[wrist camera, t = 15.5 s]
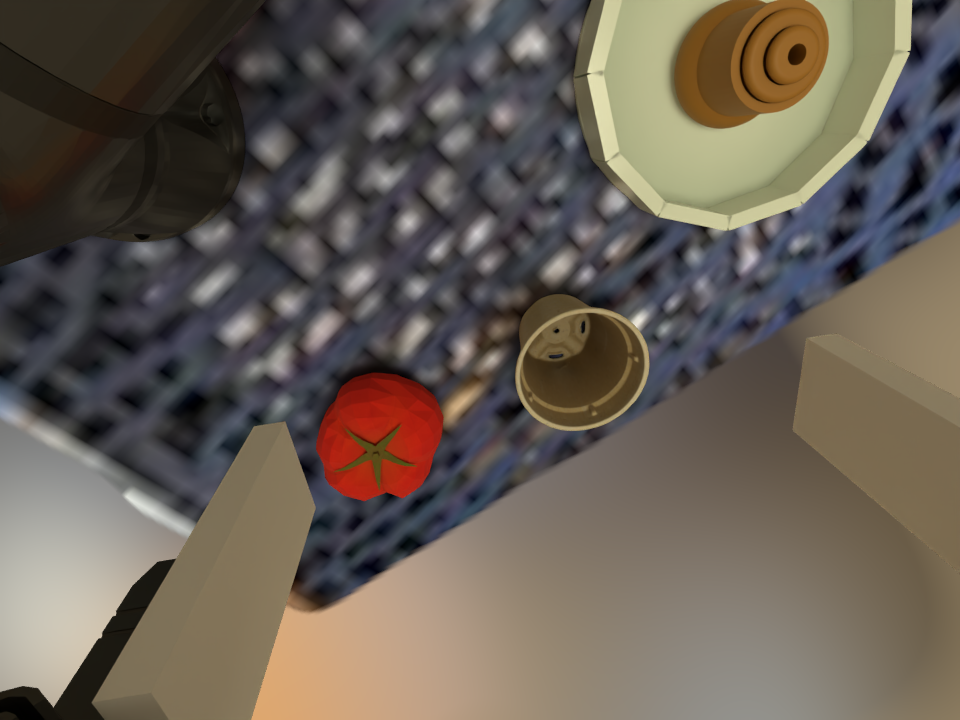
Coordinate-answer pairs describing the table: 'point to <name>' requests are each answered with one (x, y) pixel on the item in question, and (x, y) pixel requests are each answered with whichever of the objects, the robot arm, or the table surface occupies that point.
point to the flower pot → (578, 363)
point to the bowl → (738, 150)
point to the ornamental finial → (750, 60)
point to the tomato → (379, 436)
